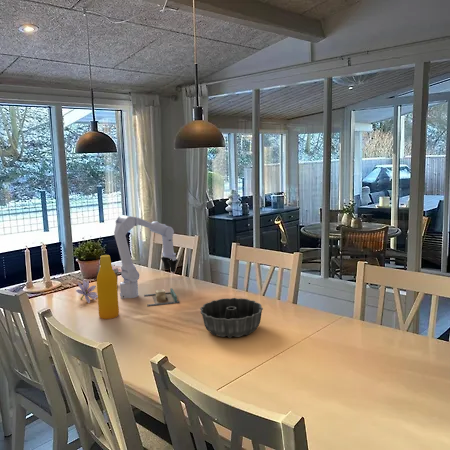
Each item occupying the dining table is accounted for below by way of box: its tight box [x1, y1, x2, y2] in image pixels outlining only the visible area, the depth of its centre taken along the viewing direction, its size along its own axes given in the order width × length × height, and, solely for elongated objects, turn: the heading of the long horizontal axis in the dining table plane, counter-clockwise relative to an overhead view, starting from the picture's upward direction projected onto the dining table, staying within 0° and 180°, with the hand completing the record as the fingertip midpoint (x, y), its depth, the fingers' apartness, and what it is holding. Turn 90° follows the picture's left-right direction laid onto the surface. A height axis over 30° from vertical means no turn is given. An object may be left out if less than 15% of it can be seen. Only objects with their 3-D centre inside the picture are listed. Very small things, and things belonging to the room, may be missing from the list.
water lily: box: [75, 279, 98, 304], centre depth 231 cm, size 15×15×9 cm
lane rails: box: [143, 291, 180, 307], centre depth 227 cm, size 16×18×2 cm
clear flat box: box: [151, 287, 178, 304], centre depth 227 cm, size 11×15×4 cm
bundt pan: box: [199, 297, 264, 339], centre depth 186 cm, size 26×26×10 cm
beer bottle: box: [96, 254, 120, 320], centre depth 204 cm, size 9×9×29 cm
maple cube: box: [155, 288, 166, 301], centre depth 226 cm, size 4×4×4 cm
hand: (170, 270), depth 247 cm, fingers open, 7 cm apart
